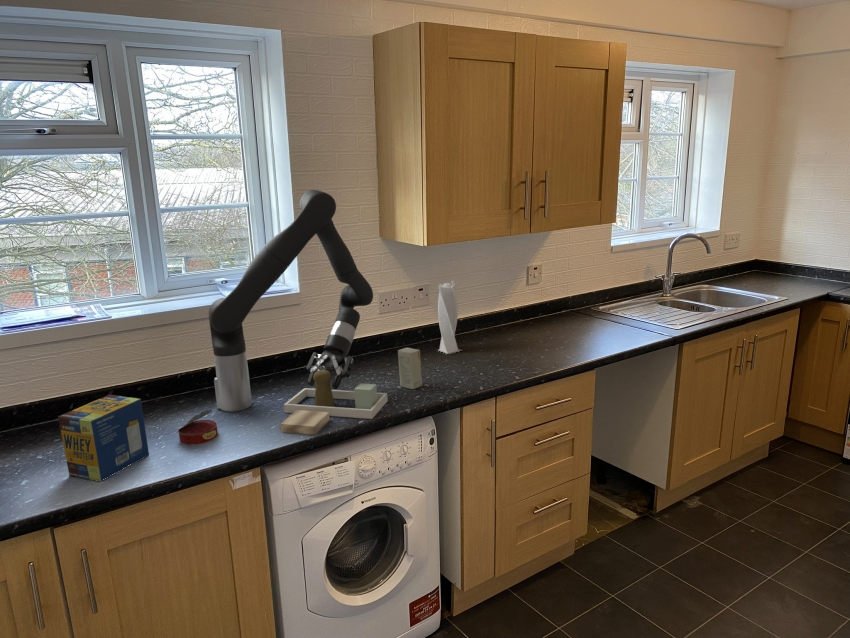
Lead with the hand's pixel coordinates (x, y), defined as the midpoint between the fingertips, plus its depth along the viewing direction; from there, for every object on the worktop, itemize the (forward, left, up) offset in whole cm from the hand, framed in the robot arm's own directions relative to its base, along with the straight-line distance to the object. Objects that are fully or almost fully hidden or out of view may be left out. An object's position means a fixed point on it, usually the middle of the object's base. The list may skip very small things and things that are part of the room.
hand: (322, 386), depth 186 cm
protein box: (-37, -46, -7) cm, 59 cm away
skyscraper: (+25, +60, -7) cm, 66 cm away
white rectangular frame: (+4, +1, -6) cm, 8 cm away
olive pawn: (0, 0, -7) cm, 7 cm away
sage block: (+14, 0, -6) cm, 15 cm away
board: (+1, -14, -6) cm, 16 cm away
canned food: (-25, -27, -7) cm, 37 cm away
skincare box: (+21, +22, -7) cm, 31 cm away
